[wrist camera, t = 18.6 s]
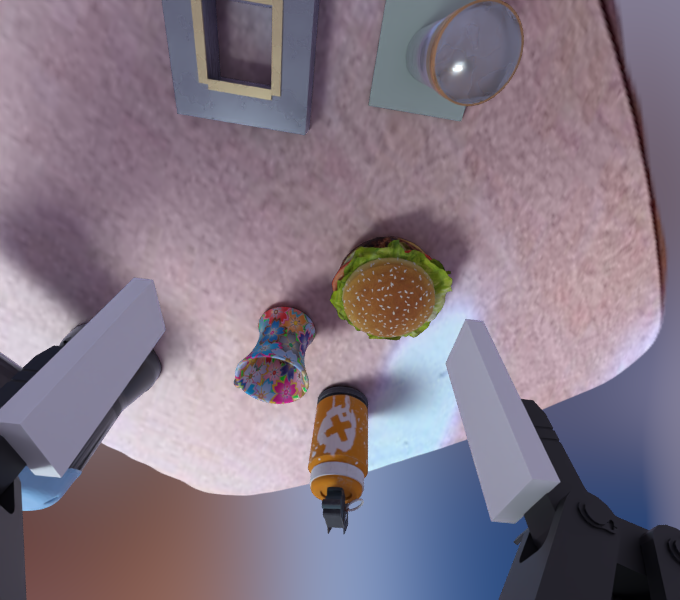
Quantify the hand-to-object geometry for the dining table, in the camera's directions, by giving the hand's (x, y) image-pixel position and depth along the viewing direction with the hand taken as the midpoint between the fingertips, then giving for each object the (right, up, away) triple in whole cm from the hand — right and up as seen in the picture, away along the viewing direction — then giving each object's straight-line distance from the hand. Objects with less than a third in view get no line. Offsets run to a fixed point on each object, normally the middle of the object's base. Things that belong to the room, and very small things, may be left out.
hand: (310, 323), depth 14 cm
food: (+8, +4, +29) cm, 31 cm away
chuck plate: (-7, +24, +15) cm, 29 cm away
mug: (-8, -3, +36) cm, 37 cm away
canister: (+2, -18, +46) cm, 49 cm away
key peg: (+9, +22, +15) cm, 28 cm away
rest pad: (+9, +23, +15) cm, 29 cm away
